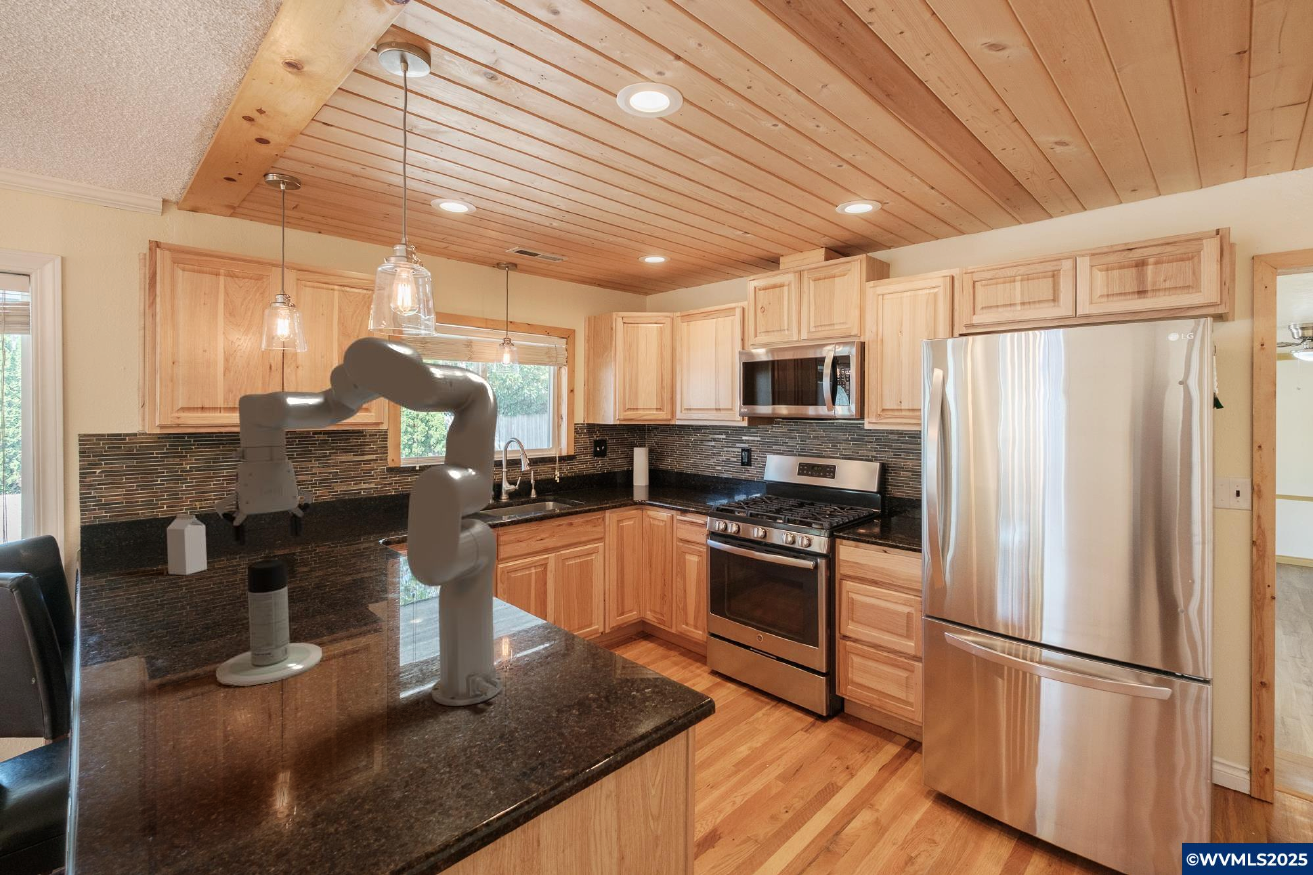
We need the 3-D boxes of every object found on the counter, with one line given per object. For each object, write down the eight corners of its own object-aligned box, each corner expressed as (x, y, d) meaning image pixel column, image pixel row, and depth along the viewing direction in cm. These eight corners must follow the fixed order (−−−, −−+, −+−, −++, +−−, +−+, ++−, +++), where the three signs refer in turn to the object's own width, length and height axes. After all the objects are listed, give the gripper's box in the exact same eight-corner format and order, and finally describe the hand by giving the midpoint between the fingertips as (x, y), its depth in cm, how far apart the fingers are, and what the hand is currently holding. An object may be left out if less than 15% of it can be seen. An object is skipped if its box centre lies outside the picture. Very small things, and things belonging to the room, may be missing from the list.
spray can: (283, 650, 124) (279, 557, 123) (295, 658, 120) (291, 562, 118) (246, 660, 119) (241, 563, 118) (257, 670, 115) (252, 569, 113)
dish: (336, 662, 121) (336, 656, 121) (232, 695, 107) (232, 688, 107) (302, 641, 132) (302, 636, 132) (204, 669, 118) (204, 662, 118)
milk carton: (186, 575, 189) (183, 516, 188) (168, 574, 190) (165, 516, 189) (207, 569, 196) (205, 513, 195) (189, 568, 197) (187, 512, 196)
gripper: (217, 459, 109) (222, 550, 109) (318, 453, 122) (322, 534, 123) (206, 458, 113) (211, 546, 114) (304, 452, 127) (308, 530, 127)
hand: (268, 540), depth 118 cm, fingers open, 9 cm apart
